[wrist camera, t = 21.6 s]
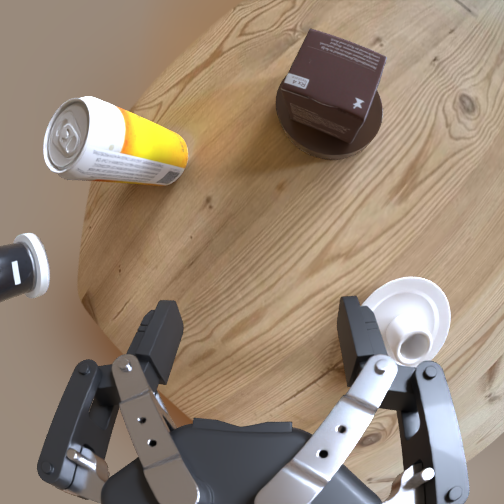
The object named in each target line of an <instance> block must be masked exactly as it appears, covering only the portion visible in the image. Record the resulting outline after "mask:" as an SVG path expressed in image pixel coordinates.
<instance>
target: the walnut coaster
mask: <svg viewBox="0 0 504 504" xmlns="http://www.w3.org/2000/svg"><path fill="white" fill-rule="evenodd" d="M286 76H287V75H286ZM285 78H286V77H285ZM285 78H284V79H283V81H282V82H281V84H280V86H279V89H278V91H277V96H276V110H277V115H278V118H279V120H280V123H281V125H282V128H283V130H284V132H285V134H286V135H287V137H288V138H289V139H290V140H291V142H292V143H293V144H294V145H296V146H297V147H298V148H299V149H301V150H302V151H304V152H305V153H307V154H309V155H312V156H315V157H318V158H322V159H329V160H337V159H344V158H347V157H350V156H353V155H355V154H357V153H358V152H360V151H361V150H363V149H364V148H365V147H366V146H367V145H368V144H369V143H370V142H371V141H372V140H373V138H374V137H375V136H376V134H377V133H378V131H379V129H380V126H381V123H382V117H383V108H382V102H381V99H380V96H379V93H378V91H376V93H375V96H374V99H373V101H372V104H371V107H370V110H369V113H368V115H367V118H366V120H365V122H364V124H363V126H362V127H361V128H360V130H359V131H358V133H357V135H356V137H355V139H354V140H353V142H352V143H351V144H349V143H347V142H345V141H343V140H340V139H338V138H336V137H333V136H331V135H329V134H326V133H324V132H321V131H319V130H317V129H314V128H312V127H309V126H307V125H304V124H302V123H299V122H296V121H293V120H291V119H290V115H289V112H288V109H287V106H286V103H285V100H284V97H283V93H282V91H281V86H282V84H283V82H284V80H285Z"/></svg>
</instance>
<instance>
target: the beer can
mask: <svg viewBox="0 0 504 504" xmlns="http://www.w3.org/2000/svg"><path fill="white" fill-rule="evenodd" d="M43 149H44V150H43V152H44V159H45V162H46V164H47V166H48V168H49V169H50V170H51V171H52V172H54V173H57V174H58V175H59V176H60V177H62V178H64V179H67V180H84V181H85V180H86V181H102V182H117V183H130V184H142V185H153V186H165V185H169V184H171V183H173V182H174V181H176V180H177V179H178V178H179V177H180V176H181V174H182V173H183V171H184V169H185V167H186V164H187V160H188V149H187V146H186V143H185V141H184V140H183V138H182V137H181V136H179V135H178V134H176V133H174V132H172V131H170V130H168V129H166V128H164V127H161V126H159V125H157V124H155V123H153V122H151V121H148V120H146V119H144V118H142V117H140V116H137V115H135V114H133V113H130V112H128V111H126V110H124V109H121V108H118V107H116V106H114V105H112V104H109V103H107V102H104V101H102V100H99V99H97V98H94V97H83V98H73V99H70V100H68V101H66V102H65V103H63V104H62V105H61V106H60V107H59V108H58V109H57V111H56V112H55V113H54V115H53V116H52V118H51V120H50V122H49V124H48V127H47V130H46V133H45V138H44V146H43Z"/></svg>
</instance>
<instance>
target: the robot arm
mask: <svg viewBox="0 0 504 504" xmlns="http://www.w3.org/2000/svg"><path fill="white" fill-rule="evenodd" d="M36 283H37V269H36V263H35V259H34V256H33V253H32V251H31V249H30V247H29V246H28V245H27V244H26V243H25V242H23V241H20V242H17V243H13V244H8V245H3V246H0V302H2V301H5V300H8V299H10V298H13V297H16V296H19V295H22V294H24V293H29V292H32V291H33V290H34V289H35V287H36ZM140 325H141V326H139V328H138V330H137V331H138V332H137V333H136V335H135V337H134V339H133V341H132V343H131V345H130V347H129V349H128V352H127V354H124V355H121V356H120V357H118V358H117V359H116V360H115V361H114V362H113V364H111V365H104V366H98V365H97V364H96V362H95V361H93V360H89V359H88V360H83V361H82V362H80V363H79V364H78V365H77V366H76V367H75V369H74V372H73V374H72V376H71V378H70V381H69V382H68V385H67V387H66V389H65V391H64V394H63V396H62V398H61V401H60V403H59V406H58V408H57V411H56V413H55V415H54V418H53V421H52V423H51V426H50V428H49V432H48V434H47V437H46V439H45V442H44V445H43V448H42V451H41V454H40V457H39V460H38V464H37V470H38V474H39V476H40V478H41V479H42V480H44V481H45V482H47V483H49V484H51V485H53V486H55V487H56V488H58V489H60V490H62V491H64V492H66V493H69V494H71V495H74V496H77V497H80V498H82V499H85V500H89V499H90V500H92V501H95V502H98V503H100V504H464V503H465V502H466V499H467V498H468V495H469V481H468V473H467V466H466V460H465V454H464V448H463V443H462V438H461V434H460V429H459V425H458V421H457V417H456V413H455V409H454V405H453V401H452V398H451V394H450V391H449V388H448V384H447V381H446V378H445V375H444V372H443V369H442V368H441V366H440V365H439V364H437V363H436V362H434V361H423V362H421V363H420V364H418V366H417V367H408V366H402V365H399V364H397V363H396V362H395V361H394V359H393V358H391V357H390V356H388V354H387V351H386V347H385V344H384V341H383V338H382V335H381V332H380V330H379V326H378V323H377V320H376V318H375V315H374V312H373V311H372V310H371V309H370V308H369V307H368V306H360V304H359V301H358V298H357V296H345V297H341V298H340V304H339V311H338V318H337V331H338V336H339V342H340V347H341V352H342V358H343V363H344V369H345V375H346V381H347V387H350V389H349V390H348V392H347V393H346V394H345V395H343V396H342V397H341V398H340V400H339V401H338V402H337V404H336V405H335V407H334V408H333V409H332V411H331V412H330V413H329V415H328V416H327V417H326V419H325V420H324V421H323V423H322V424H321V425H320V426H319V428H318V429H317V430H316V432H315V433H314V434H313V435H312V434H310V433H308V432H306V431H304V430H301V429H298V428H293V427H292V422H265V423H260V424H255V425H250V426H245V427H239V426H235V425H232V424H228V423H225V422H222V421H219V420H212V419H201V418H194V420H193V424H188V425H184V426H181V427H179V428H177V427H176V425H175V424H174V422H173V421H172V419H171V417H170V415H169V413H168V411H167V409H166V407H165V405H164V403H163V401H162V399H161V397H160V395H159V393H158V391H157V387H158V384H163V385H166V384H167V381H168V378H169V375H170V372H171V369H172V365H173V362H174V359H175V356H176V353H177V350H178V347H179V344H180V341H181V338H182V335H183V329H184V327H183V321H182V318H181V315H180V312H179V310H178V307H177V304H176V302H175V301H174V300H160V301H159V302H158V305H157V307H156V309H155V310H151V311H150V312H149V313H147V314H146V315H145V316H144V318H143V320H142V322H141V324H140ZM93 399H94V400H93ZM92 401H93V403H92ZM91 404H92V406H91ZM90 407H91V408H90ZM119 407H120V410H121V413H122V416H123V419H124V422H125V424H126V427H127V429H128V432H129V435H130V437H131V440H132V442H133V445H134V447H135V450H136V452H137V454H138V458H136V459H135V460H134V461H132V462H131V463H130V464H128V465H127V466H125V467H124V468H123V469H121V470H120V471H119V472H117V473H116V474H114V475H113V476H111V477H110V478H109V475H110V473H109V471H108V465H107V463H106V462H105V456H106V452H107V448H108V444H109V441H110V437H111V434H112V430H113V427H114V423H115V420H116V417H117V413H118V410H119ZM378 408H382V409H390V410H396V411H397V417H398V424H399V431H400V438H401V446H402V456H403V466H404V472H402V473H401V474H399V475H398V476H397V477H396V478H395V479H394V481H393V483H392V488H391V493H390V495H389V497H388V498H387V499H386V500H385V501H384V502H382V501H381V500H380V498H379V497H378V496H377V495H376V494H375V493H374V492H373V491H371V490H370V489H369V488H368V487H367V486H366V485H365V484H364V483H363V482H362V481H361V480H359V479H358V478H357V477H356V476H355V475H354V474H353V473H352V472H351V471H350V470H349V469H348V468H347V467H346V466H345V465H344V464H343V462H344V461H345V459H346V458H347V456H348V455H349V454H350V452H351V451H352V449H353V448H354V446H355V445H356V443H357V442H358V440H359V439H360V437H361V436H362V434H363V433H364V431H365V429H366V428H367V426H368V425H369V423H370V421H371V420H372V418H373V416H374V415H375V413H376V411H377V409H378ZM89 410H90V411H89Z"/></svg>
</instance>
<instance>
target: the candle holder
mask: <svg viewBox="0 0 504 504" xmlns="http://www.w3.org/2000/svg"><path fill="white" fill-rule="evenodd" d="M361 306H368V307H369V308H370V309H371V310H372V311H373V312H374V315H375V318H376V320H377V323H378V326H379V330H380V332H381V335H382V338H383V341H384V344H385V347H386V351H387V354H388V356H390V357H391V358H393V359H394V361H395V362H396V363H397V364H399V365H402V366H408V367H417V366H418V364H420V363H421V362H423V361H431V360H432V359H433V358H434V356H435V355H436V354H437V353H438V351H439V350H440V349H441V347H442V345H443V344H444V342H445V339H446V337H447V334H448V331H449V327H450V307H449V303H448V300H447V298H446V296H445V294H444V293H443V292H442V290H441V289H440V288H439V287H438V286H437V285H435V284H434V283H433V282H431V281H429V280H426V279H423V278H419V277H405V278H400V279H396V280H393V281H391V282H389V283H387V284H385V285H383V286H381V287H380V288H378V289H377V290H376V291H374V292H373V293H372V294H371V295H370V296H369V297H368V298H367V299H366V300H365V301H364V303H363V304H362V305H361Z"/></svg>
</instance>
